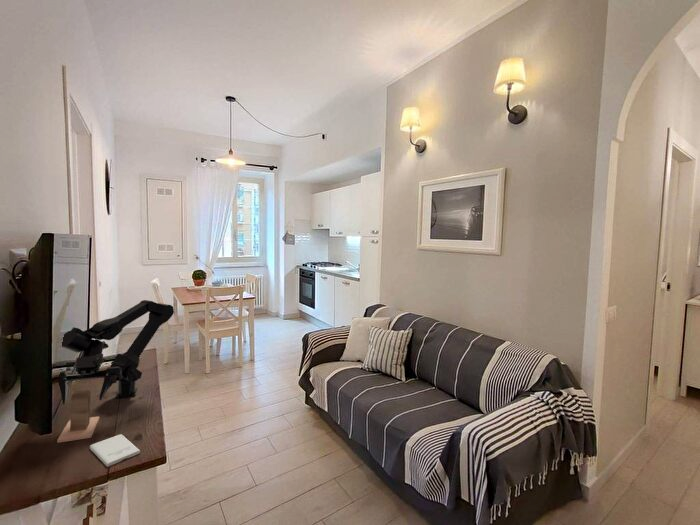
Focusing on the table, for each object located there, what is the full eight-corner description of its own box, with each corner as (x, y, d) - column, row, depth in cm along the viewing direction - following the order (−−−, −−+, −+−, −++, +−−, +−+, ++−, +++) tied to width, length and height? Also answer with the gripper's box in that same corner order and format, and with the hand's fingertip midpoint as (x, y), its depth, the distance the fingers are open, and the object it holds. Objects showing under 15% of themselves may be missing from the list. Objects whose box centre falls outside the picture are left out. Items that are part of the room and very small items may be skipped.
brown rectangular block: (73, 425, 108) (75, 391, 107) (89, 423, 109) (90, 389, 109) (70, 431, 104) (71, 396, 104) (86, 429, 106) (87, 395, 105)
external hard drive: (121, 438, 105) (140, 455, 98) (89, 450, 98) (107, 469, 91) (121, 433, 105) (140, 449, 98) (89, 445, 98) (107, 463, 91)
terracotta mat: (69, 422, 110) (69, 420, 110) (99, 418, 114) (99, 416, 114) (57, 442, 100) (57, 440, 100) (90, 437, 103) (90, 435, 103)
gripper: (51, 347, 107) (37, 396, 98) (121, 343, 116) (115, 388, 107) (58, 363, 115) (46, 410, 106) (124, 358, 123) (118, 401, 114)
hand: (82, 402), depth 108 cm, fingers open, 9 cm apart
